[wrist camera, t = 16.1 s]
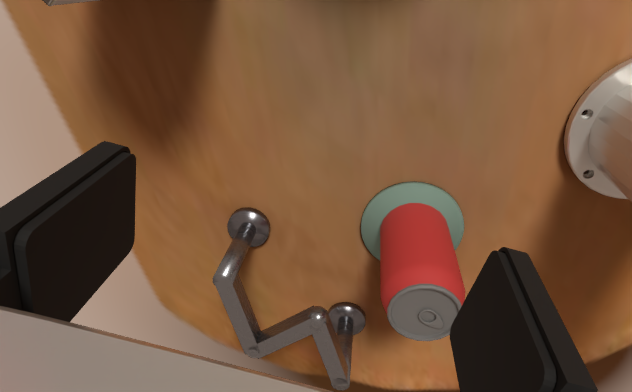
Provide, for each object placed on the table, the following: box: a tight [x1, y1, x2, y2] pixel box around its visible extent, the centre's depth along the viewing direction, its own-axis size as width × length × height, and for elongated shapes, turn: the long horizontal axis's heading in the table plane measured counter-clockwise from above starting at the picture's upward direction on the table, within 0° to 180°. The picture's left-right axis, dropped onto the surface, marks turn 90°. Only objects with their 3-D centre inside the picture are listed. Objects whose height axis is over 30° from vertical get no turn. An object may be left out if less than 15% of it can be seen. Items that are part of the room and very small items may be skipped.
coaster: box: [361, 182, 464, 260], centre depth 43 cm, size 10×10×1 cm
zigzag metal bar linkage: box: [213, 208, 365, 390], centre depth 44 cm, size 17×13×9 cm
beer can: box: [380, 203, 465, 341], centre depth 37 cm, size 7×7×12 cm
